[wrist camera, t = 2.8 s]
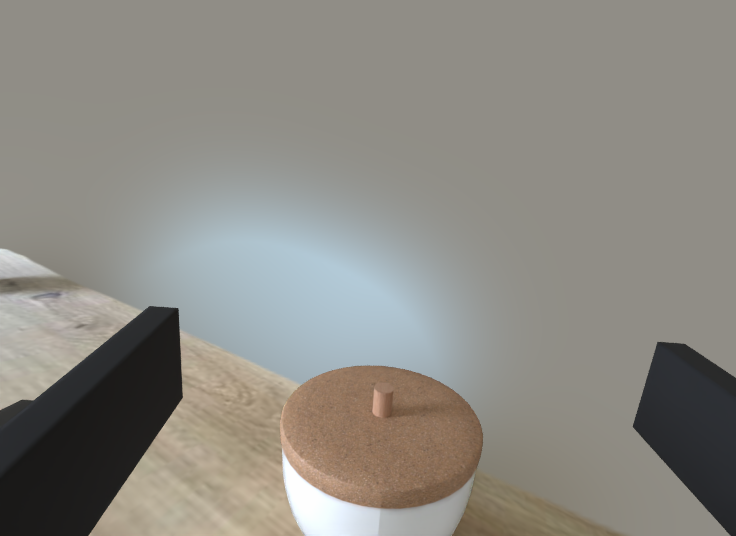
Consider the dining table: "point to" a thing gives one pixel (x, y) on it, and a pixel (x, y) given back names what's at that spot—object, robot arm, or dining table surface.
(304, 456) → the trinket box
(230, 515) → the dining table surface
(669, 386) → the robot arm
